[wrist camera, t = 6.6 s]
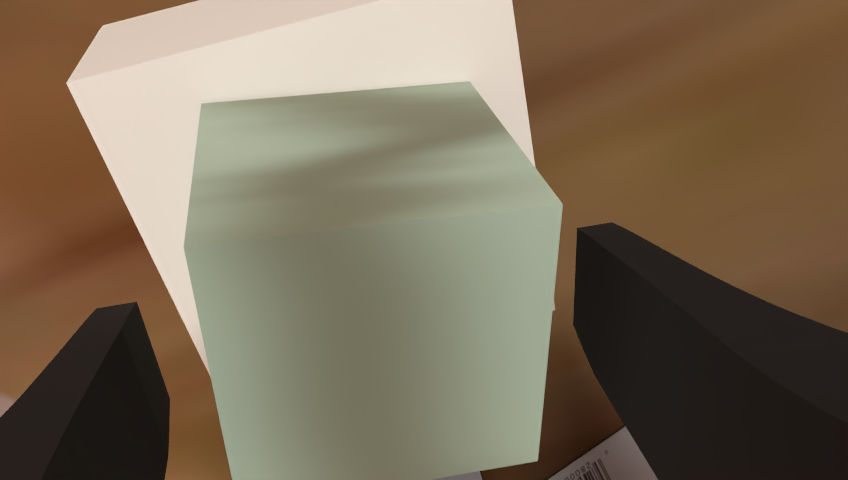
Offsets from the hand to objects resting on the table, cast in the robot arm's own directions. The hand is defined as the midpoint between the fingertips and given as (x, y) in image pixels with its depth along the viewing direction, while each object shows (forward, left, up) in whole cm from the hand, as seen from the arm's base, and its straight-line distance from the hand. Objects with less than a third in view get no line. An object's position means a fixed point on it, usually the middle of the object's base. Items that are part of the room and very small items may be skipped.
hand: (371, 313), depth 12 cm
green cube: (0, 0, -3) cm, 3 cm away
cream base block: (0, 0, -8) cm, 8 cm away
